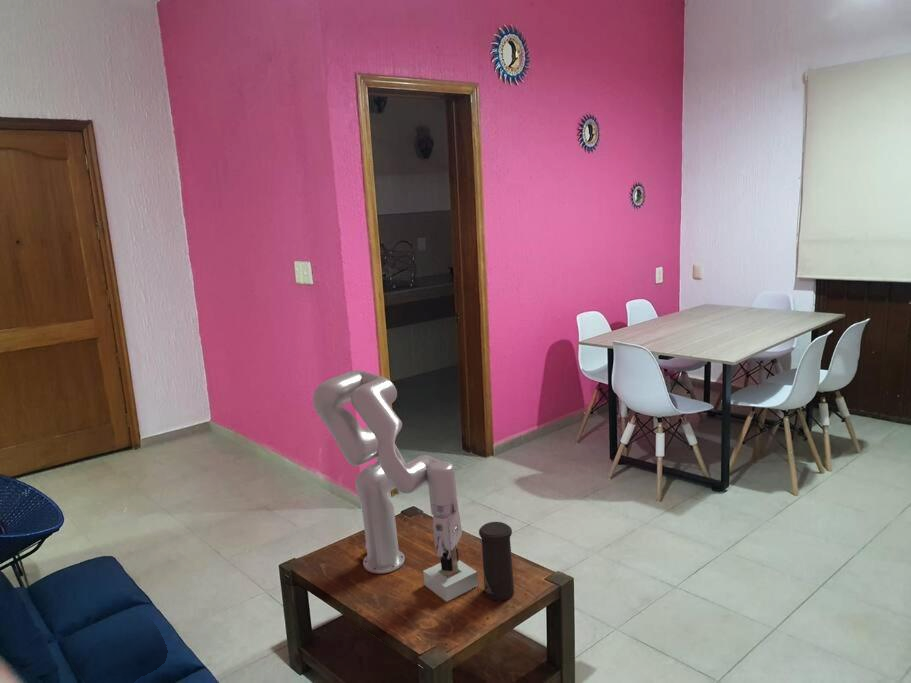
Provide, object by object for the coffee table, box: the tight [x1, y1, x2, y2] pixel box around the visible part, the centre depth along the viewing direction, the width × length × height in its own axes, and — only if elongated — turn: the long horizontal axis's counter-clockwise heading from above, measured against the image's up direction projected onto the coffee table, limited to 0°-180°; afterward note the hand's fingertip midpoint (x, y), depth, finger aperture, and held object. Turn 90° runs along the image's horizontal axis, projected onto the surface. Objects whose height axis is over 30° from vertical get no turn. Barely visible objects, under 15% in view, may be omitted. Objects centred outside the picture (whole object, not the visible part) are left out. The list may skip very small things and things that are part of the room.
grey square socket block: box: [422, 559, 479, 603], centre depth 194 cm, size 11×11×4 cm
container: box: [478, 521, 515, 602], centre depth 187 cm, size 9×9×20 cm
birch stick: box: [443, 545, 458, 578], centre depth 192 cm, size 3×3×9 cm
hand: (450, 564), depth 193 cm, fingers closed on birch stick, 4 cm apart
